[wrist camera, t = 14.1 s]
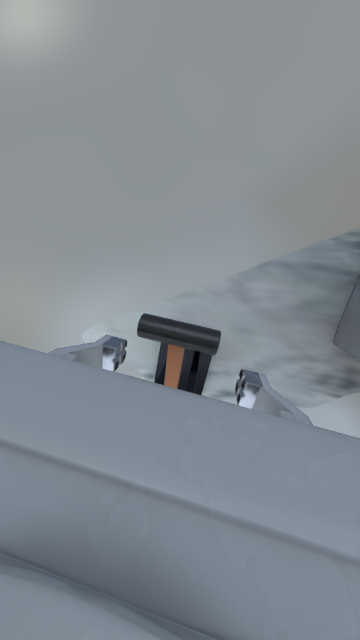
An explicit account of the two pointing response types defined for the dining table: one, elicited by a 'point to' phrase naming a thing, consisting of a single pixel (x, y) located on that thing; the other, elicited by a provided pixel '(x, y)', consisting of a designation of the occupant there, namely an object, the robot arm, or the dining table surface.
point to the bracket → (186, 369)
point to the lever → (177, 341)
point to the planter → (350, 326)
